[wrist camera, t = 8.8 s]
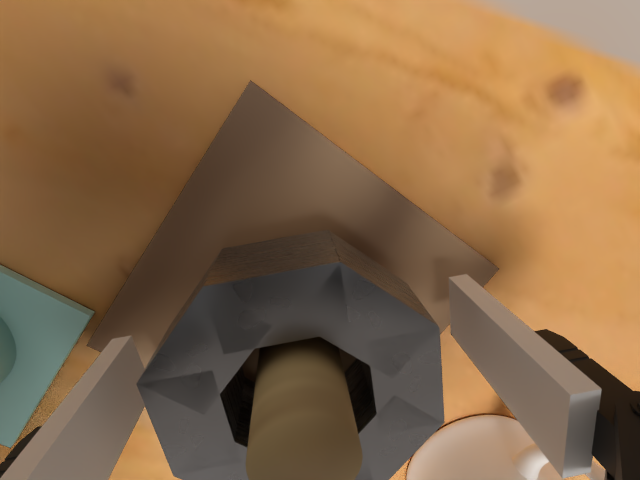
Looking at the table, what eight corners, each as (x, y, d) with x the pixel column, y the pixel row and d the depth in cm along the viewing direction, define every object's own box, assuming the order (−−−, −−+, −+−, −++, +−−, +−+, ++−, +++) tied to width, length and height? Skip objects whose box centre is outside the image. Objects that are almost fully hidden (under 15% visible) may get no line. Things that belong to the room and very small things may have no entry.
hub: (90, 340, 17) (-90, 542, 9) (251, 81, 14) (202, 26, 6) (327, 452, 20) (353, 668, 12) (494, 265, 17) (672, 389, 9)
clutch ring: (212, 453, 15) (195, 530, 12) (146, 261, 12) (103, 304, 9) (417, 413, 15) (447, 479, 13) (401, 216, 12) (435, 244, 10)
